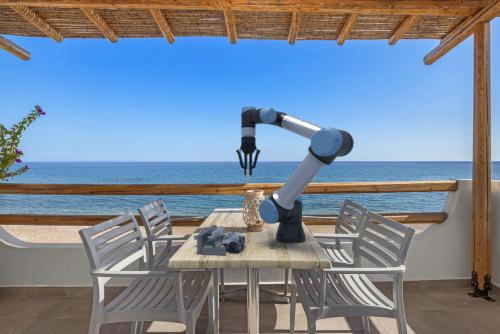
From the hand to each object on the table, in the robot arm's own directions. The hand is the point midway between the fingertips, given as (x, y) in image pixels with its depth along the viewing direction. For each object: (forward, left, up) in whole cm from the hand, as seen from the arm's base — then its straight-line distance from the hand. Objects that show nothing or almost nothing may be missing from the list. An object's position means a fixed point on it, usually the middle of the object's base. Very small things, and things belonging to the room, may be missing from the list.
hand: (248, 181), depth 152 cm
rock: (+3, +21, -30) cm, 36 cm away
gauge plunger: (+16, +19, -29) cm, 38 cm away
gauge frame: (+9, +20, -29) cm, 37 cm away
